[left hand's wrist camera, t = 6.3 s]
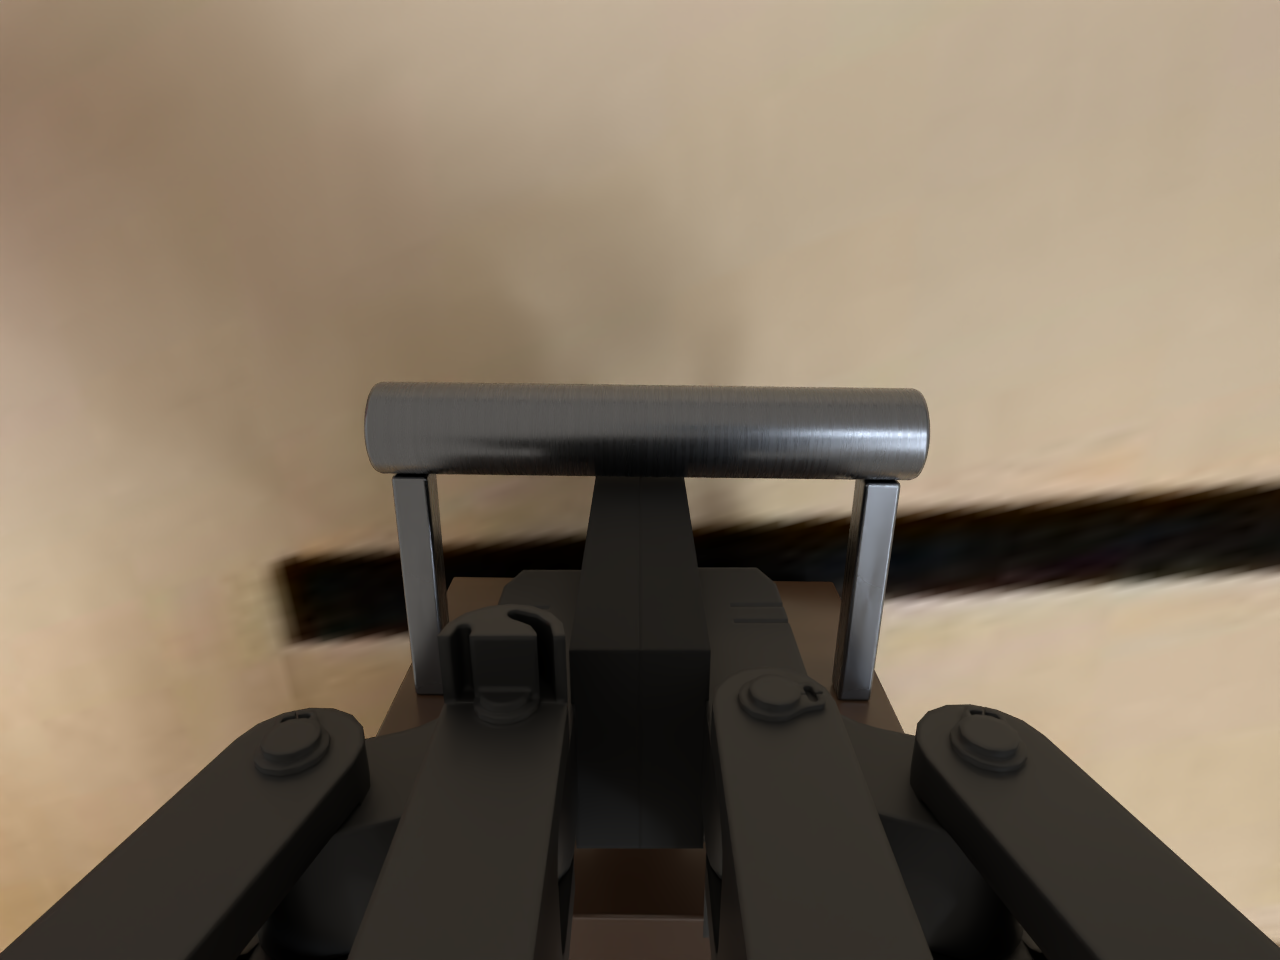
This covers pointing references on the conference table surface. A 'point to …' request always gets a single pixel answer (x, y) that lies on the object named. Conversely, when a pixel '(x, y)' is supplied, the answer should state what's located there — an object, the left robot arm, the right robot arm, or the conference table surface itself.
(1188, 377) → the conference table surface
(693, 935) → the drawer
